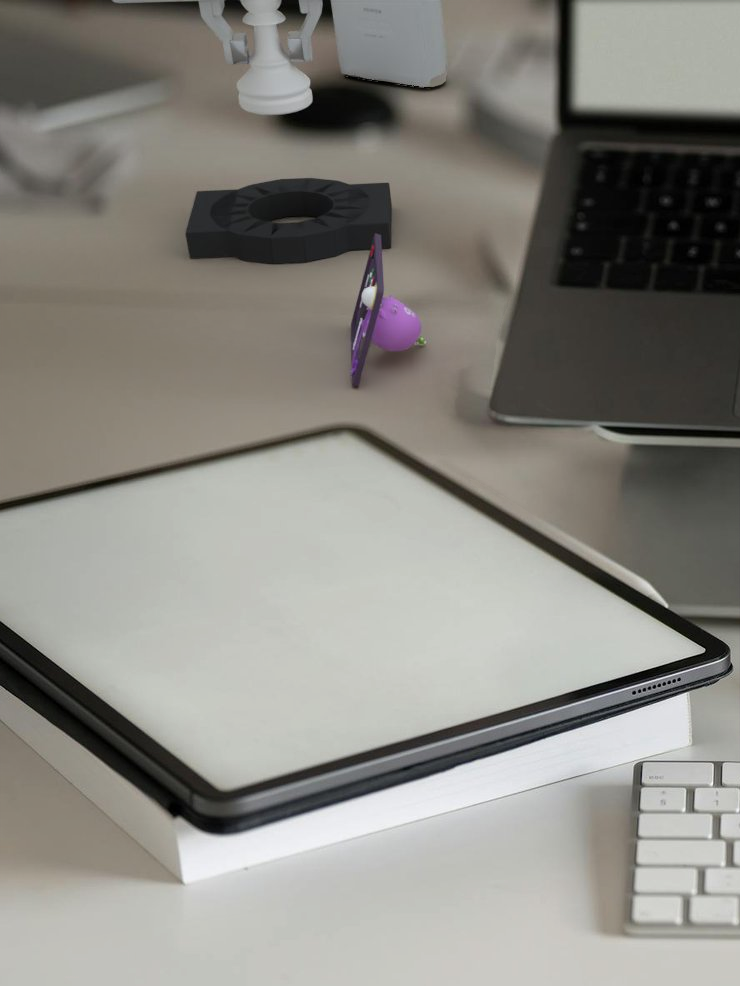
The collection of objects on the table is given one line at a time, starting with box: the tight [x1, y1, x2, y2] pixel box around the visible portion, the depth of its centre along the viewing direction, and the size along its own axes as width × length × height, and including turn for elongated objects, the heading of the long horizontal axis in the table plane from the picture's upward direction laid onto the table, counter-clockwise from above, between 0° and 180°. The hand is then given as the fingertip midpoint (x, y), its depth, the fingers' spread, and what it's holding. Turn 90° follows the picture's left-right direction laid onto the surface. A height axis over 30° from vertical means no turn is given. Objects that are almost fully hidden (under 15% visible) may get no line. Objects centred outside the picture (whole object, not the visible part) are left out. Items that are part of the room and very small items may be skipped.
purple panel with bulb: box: [350, 234, 427, 387], centre depth 108 cm, size 7×5×9 cm
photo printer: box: [330, 0, 448, 88], centre depth 152 cm, size 10×4×12 cm, turn 69°
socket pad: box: [185, 177, 393, 265], centre depth 125 cm, size 14×11×2 cm
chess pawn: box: [236, 0, 313, 116], centre depth 117 cm, size 5×5×9 cm
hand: (270, 61), depth 118 cm, fingers closed on chess pawn, 3 cm apart
